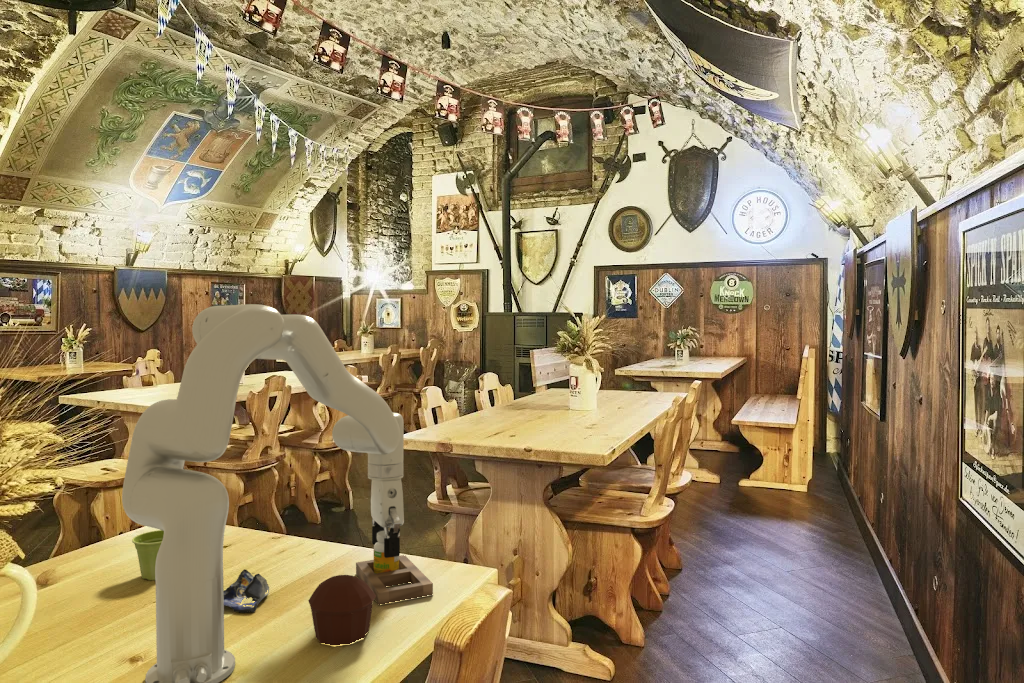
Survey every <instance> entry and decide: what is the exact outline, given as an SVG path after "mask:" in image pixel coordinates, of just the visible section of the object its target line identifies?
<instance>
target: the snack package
mask: <svg viewBox="0 0 1024 683" xmlns="http://www.w3.org/2000/svg"><path fill="white" fill-rule="evenodd" d="M254 574H255V572H253V573H251V572H250V571H248V570H247V569H246V568H244V569H243V570H241V572H240V573H239V575H238V577H237V579H236V580H235V581H234V582H233V583H232V584H230V585H229V586H228V587H227V588H225V590H224V607H230V608H231V609H232V611H233V612H235V613H239V614H245V613H255V612H256V611H257V609H258V605H259V604H260V602H261V601H262V600H264V598H265V597H266V596H268V595H269V592H270V587H269V584H268V582H267V581H268V580H267V579H266V578H265V577H263V576H262V575H261V574H260V573H256V574H255V575H254ZM267 590H268V593H267ZM244 598H246V599H247V598H248V599H252V600H251V602H247V603H243V604H242V605H240V604H241V602H242V600H243V599H244ZM248 599H247V600H248ZM252 601H255V602H254V603H252ZM243 605H245V607H244V606H243ZM246 605H252V606H246ZM253 606H254V607H253Z"/></svg>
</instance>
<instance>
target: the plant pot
mask: <svg viewBox="0 0 1024 683" xmlns="http://www.w3.org/2000/svg"><path fill="white" fill-rule="evenodd" d="M163 537H164V531H163V530H160V529H158V530H157V529H156V530H152V531H147V532H143V533H140V534H138V535H136V536H134V537H132V539H131V542H132V543H133V545H134V548H135V549H136V552H137V559H138V563H139V564H138V565H139V570H140V576H141V578H142V579H143V580H145V579H146V580H147V581H155V565H156V558H157V554H158V551H159V548H160V546H161V543H162V540H163Z"/></svg>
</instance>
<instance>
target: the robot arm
mask: <svg viewBox="0 0 1024 683" xmlns="http://www.w3.org/2000/svg"><path fill="white" fill-rule="evenodd" d="M192 322H193V323H192V329H191V330H192V332H191V333H192V337H193V339H194V341H195V343H196V345H195V346H194V348H193V349H192V350H191V353H190V354H189V356H188V358H187V361H186V362H185V365H184V368H183V372H182V375H181V376H182V378H181V380H180V384H179V388H178V389H179V390H178V391H177V392H178V393H177V397H176V399H172V398H170V399H169V398H168V399H163V400H159V401H156V402H154V403H153V404H151V405H150V406H148V407H147V408H145V410H144V411H143V412H142V413H141V415H140V416H139V418H138V420H137V422H136V424H135V426H134V429H133V432H132V437H131V440H130V441H131V442H130V447H129V451H128V452H129V453H128V458H127V462H126V469H125V473H124V479H123V485H122V493H121V494H122V495H121V498H122V499H121V503H122V509H123V511H124V513H125V514H126V516H127V517H128V518H129V519H130V520H131V521H132V522H134V523H136V524H138V525H141V526H145V527H147V528H154V529H156V530H157V529H158V530H163V531H164V537H163V540H162V543H161V546H160V548H159V551H158V554H157V558H156V565H155V580H154V581H155V628H156V631H155V635H156V637H155V638H156V639H155V640H156V663H154V664H153V665H152V666H150V668H149V669H148V670H147V671H146V674H145V683H220V682H223V681H224V680H225V679H226V678H228V677H229V676H230V675H231V674H232V673H233V671H234V670H235V668H236V667H235V666H236V657H235V655H234V654H233V653H232V652H230V651H229V650H226V649H225V606H224V540H225V538H224V537H225V532H226V525H227V520H228V514H229V511H230V510H229V509H230V508H229V507H230V498H229V493H228V490H227V488H226V486H225V484H223V482H221V480H219V479H218V478H217V477H215V476H213V475H211V474H208V473H206V472H202V471H197V470H191V469H186V468H185V469H184V466H185V463H186V462H193V463H208V462H212V461H216V460H217V459H219V458H221V457H222V456H223V455H224V453H225V452H226V451H227V448H228V445H229V442H230V438H231V433H232V428H233V421H234V416H235V409H236V403H237V398H238V397H237V396H238V392H239V388H240V385H241V381H242V377H243V375H244V374H245V371H246V370H247V368H248V367H249V366H250V365H251V363H252V362H254V361H255V360H256V359H258V360H280V361H281V360H282V361H285V362H286V363H287V365H288V367H289V369H291V371H292V372H293V374H294V375H295V377H296V378H297V379H298V381H299V383H300V384H301V385H302V386H303V389H304V390H305V391H306V393H307V395H309V397H310V398H312V399H313V400H315V401H316V402H318V403H320V404H322V405H323V406H325V407H326V406H327V407H328V408H331V409H333V410H336V411H339V412H341V413H344V414H345V416H343V417H341V418H339V419H338V420H337V421H336V422H335V424H334V425H333V428H332V432H331V433H332V434H331V437H332V441H333V442H334V444H335V445H336V446H337V447H338V448H340V449H341V450H343V451H346V452H353V453H360V454H361V453H362V454H363V453H364V454H365V453H366V454H367V479H369V480H371V489H370V515H371V518H372V521H371V524H372V525H371V544H372V545H373V546H374V545H375V543H377V542H378V541H377V533H378V532H380V531H384V530H385V536H386V538H384V557H385V558H389V557H396V556H401V552H400V551H401V550H400V548H401V547H400V544H401V539H400V538H401V528H400V527H401V526H403V525H404V523H405V515H404V514H405V513H404V510H405V509H404V493H403V492H404V491H403V483H402V479H403V478H404V448H405V447H404V445H405V444H404V438H405V437H404V430H405V429H404V426H405V425H404V424H405V423H404V418H403V415H402V414H401V413H399V412H393V411H392V409H391V407H390V406H389V405H388V403H387V402H386V400H385V399H384V398H383V397H382V396H381V395H380V394H379V393H378V392H377V391H376V390H374V389H373V388H372V387H369V385H367V384H366V383H365V382H363V381H362V380H361V379H359V378H358V377H356V376H355V375H353V374H352V373H350V372H349V371H348V369H347V368H346V366H345V365H344V362H343V361H342V360H341V358H340V357H339V355H338V353H337V351H336V350H335V348H334V347H333V345H332V343H331V341H329V339H328V337H327V336H326V334H325V332H324V330H323V329H322V328H321V326H320V325H319V323H318V322H317V321H316V320H315V319H314V318H312V317H310V316H308V315H305V314H282V313H280V312H279V311H278V310H277V309H276V308H274V307H271V306H269V305H264V304H250V303H249V304H248V303H247V304H233V305H232V304H229V305H228V304H227V305H226V304H225V305H223V304H222V305H213V306H209V307H207V308H205V309H203V310H201V311H200V312H199V313H198V314H197V315H196V316H195V318H194V320H193V321H192ZM389 530H390V531H389Z"/></svg>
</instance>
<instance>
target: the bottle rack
mask: <svg viewBox="0 0 1024 683" xmlns="http://www.w3.org/2000/svg"><path fill="white" fill-rule="evenodd" d="M404 555H405V554H402V555H401V554H400V555H399V570H394V571H388V572H382V573H376V574H375V573H374V559H369V560H362V561H358V562H355V574H356V576H357V575H358V576H357V578H360V579H361V580H363V581H365V582H366V583H367V584H368V586H369V587H370V588H371V590H372V591H373V592H374V594H375V595H376V597H375V600H376V601H377V602H376V601H375V600H374V601H375V602H376V604H377V603H378V604H379V605H380V604H385V603H389V602H395V601H400V600H405V599H411V598H417V597H422V596H427V595H432V594H433V595H434V583H433V582H432V581H431V580H430V579H429V577H427V576H426V575H425V574H424V573H423V571H422V570H420V569H419V568H418V567H417V566H416V565H415V564H414V563H413V561H411V560H410V559H409V558H408V557H407V556H406V555H405V556H404ZM408 582H411V583H412V584H411V583H408ZM403 583H408V584H403ZM398 584H403V585H398ZM392 585H397V586H392ZM386 586H391V587H386ZM378 604H377V605H378ZM379 605H378V606H379Z"/></svg>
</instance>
